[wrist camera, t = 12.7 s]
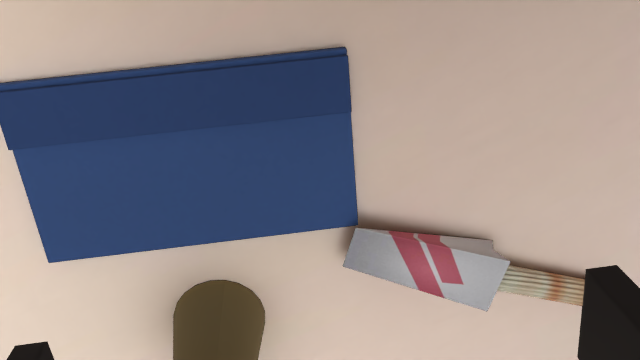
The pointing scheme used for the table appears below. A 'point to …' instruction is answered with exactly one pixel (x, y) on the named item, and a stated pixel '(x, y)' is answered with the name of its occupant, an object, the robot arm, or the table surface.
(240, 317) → the olive pawn figure
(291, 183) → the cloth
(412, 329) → the table surface
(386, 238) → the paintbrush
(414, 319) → the table surface
